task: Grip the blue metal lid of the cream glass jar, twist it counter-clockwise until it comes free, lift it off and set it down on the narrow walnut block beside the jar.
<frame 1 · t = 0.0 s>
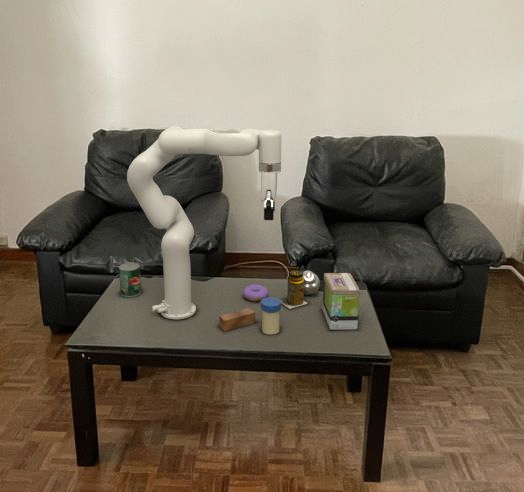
hand: (269, 215, 188), 37 cm above the table, tool pointing down, fingers open, 9 cm apart
canned tomato: (130, 293, 214), on the table
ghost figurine: (308, 294, 213), on the table
donut: (255, 297, 211), on the table
jar: (270, 329, 186), on the table
lid: (270, 302, 184), point 10 cm above the table, screwed on, not yet turned
condiment: (293, 303, 206), on the table
tea box: (339, 319, 194), on the table
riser: (237, 324, 190), on the table
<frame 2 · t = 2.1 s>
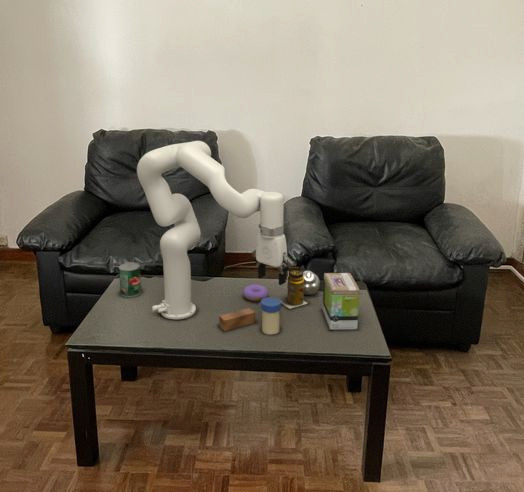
hand: (272, 280, 182), 18 cm above the table, tool pointing down, fingers open, 8 cm apart
nothing on the table moved.
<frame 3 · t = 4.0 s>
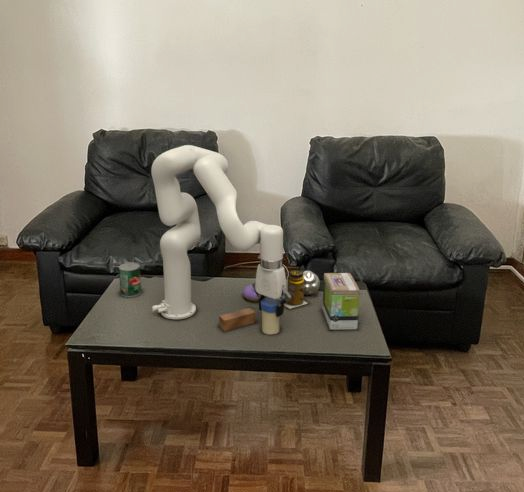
hand: (271, 311, 185), 7 cm above the table, tool pointing down, fingers closed on lid, 6 cm apart
lid: (271, 302, 184), point 10 cm above the table, screwed on, not yet turned, touching gripper
everything else where it was.
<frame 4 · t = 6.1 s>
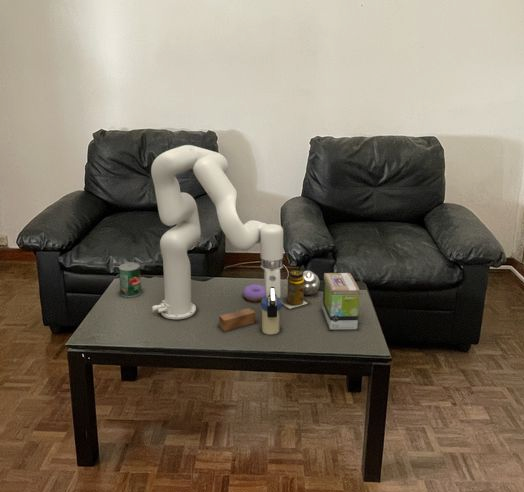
hand: (271, 311, 185), 7 cm above the table, tool pointing down, fingers closed on lid, 6 cm apart
lid: (271, 301, 184), point 10 cm above the table, off its thread, touching gripper
everything else where it was.
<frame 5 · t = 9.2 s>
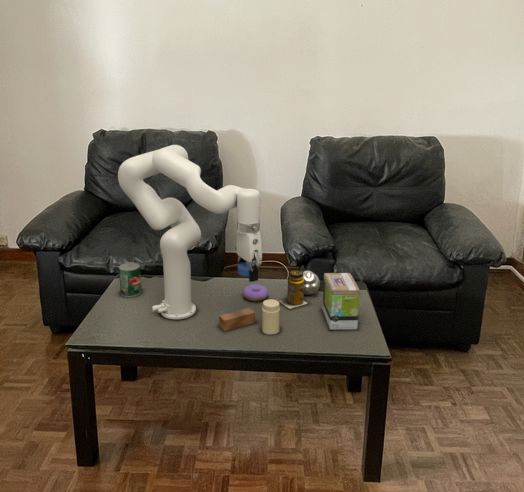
hand: (248, 276, 185), 18 cm above the table, tool pointing down, fingers closed on lid, 6 cm apart
lid: (248, 267, 184), point 22 cm above the table, off its thread, touching gripper
everything else where it was.
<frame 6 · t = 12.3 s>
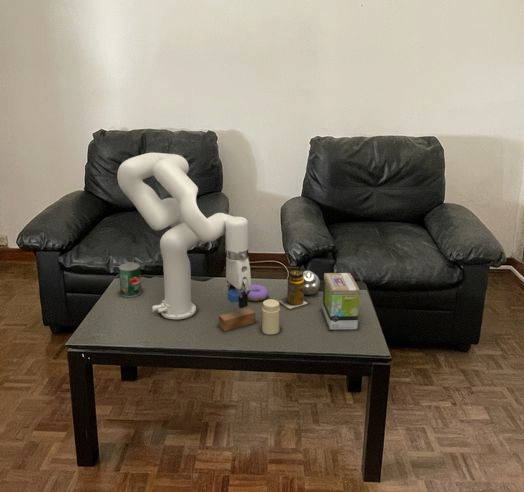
hand: (237, 302, 188), 8 cm above the table, tool pointing down, fingers closed on lid, 6 cm apart
lid: (237, 293, 187), point 12 cm above the table, off its thread, touching gripper
everything else where it was.
when the fingers open (2 cm above the table, at t = 14.5 s): lid stays where it is, resting on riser.
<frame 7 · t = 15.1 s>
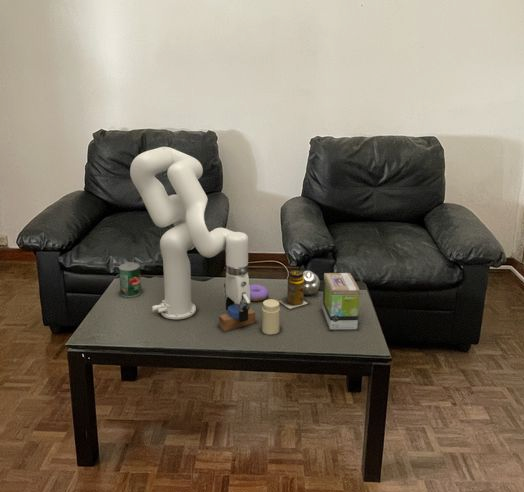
hand: (236, 315, 189), 4 cm above the table, tool pointing down, fingers open, 9 cm apart
lid: (237, 309, 188), point 6 cm above the table, off its thread, touching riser
everything else where it was.
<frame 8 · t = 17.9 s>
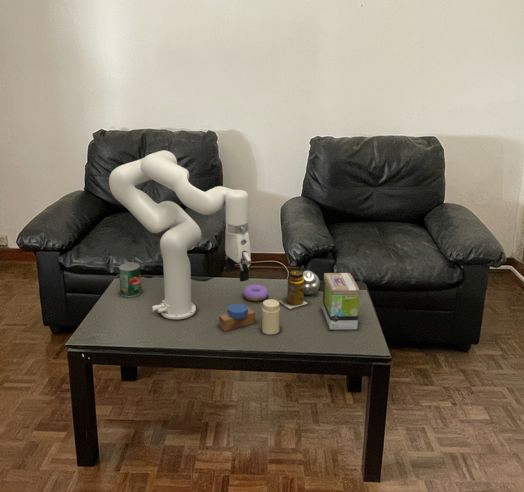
hand: (237, 275, 186), 18 cm above the table, tool pointing down, fingers open, 9 cm apart
nothing on the table moved.
at the end: lid came off its thread; lid 0.2 cm off-centre on the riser, point 5.9 cm above the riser's base; the gripper is holding nothing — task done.
